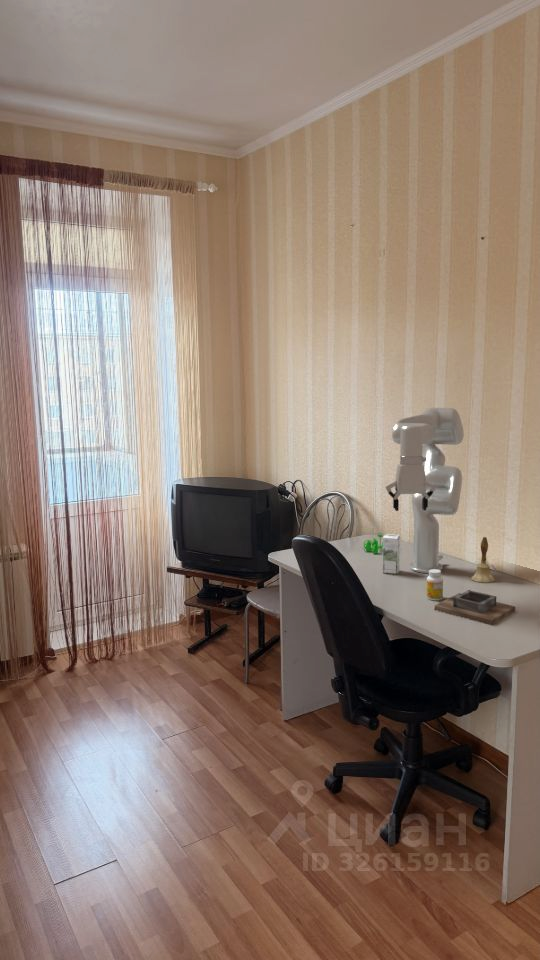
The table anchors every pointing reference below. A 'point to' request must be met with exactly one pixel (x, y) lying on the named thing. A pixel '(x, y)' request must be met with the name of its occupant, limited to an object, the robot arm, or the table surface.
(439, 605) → the socket plate
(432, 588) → the supplement bottle
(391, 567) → the syrup box
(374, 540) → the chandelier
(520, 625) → the table surface
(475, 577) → the hand bell
